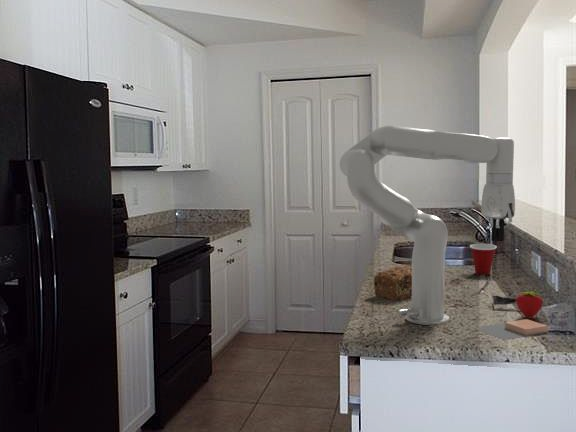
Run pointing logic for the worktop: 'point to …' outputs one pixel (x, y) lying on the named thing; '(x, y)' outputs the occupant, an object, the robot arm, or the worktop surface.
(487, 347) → the worktop surface
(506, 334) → the mat
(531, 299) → the strawberry
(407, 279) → the bread
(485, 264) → the plastic cup
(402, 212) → the robot arm
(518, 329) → the tile
